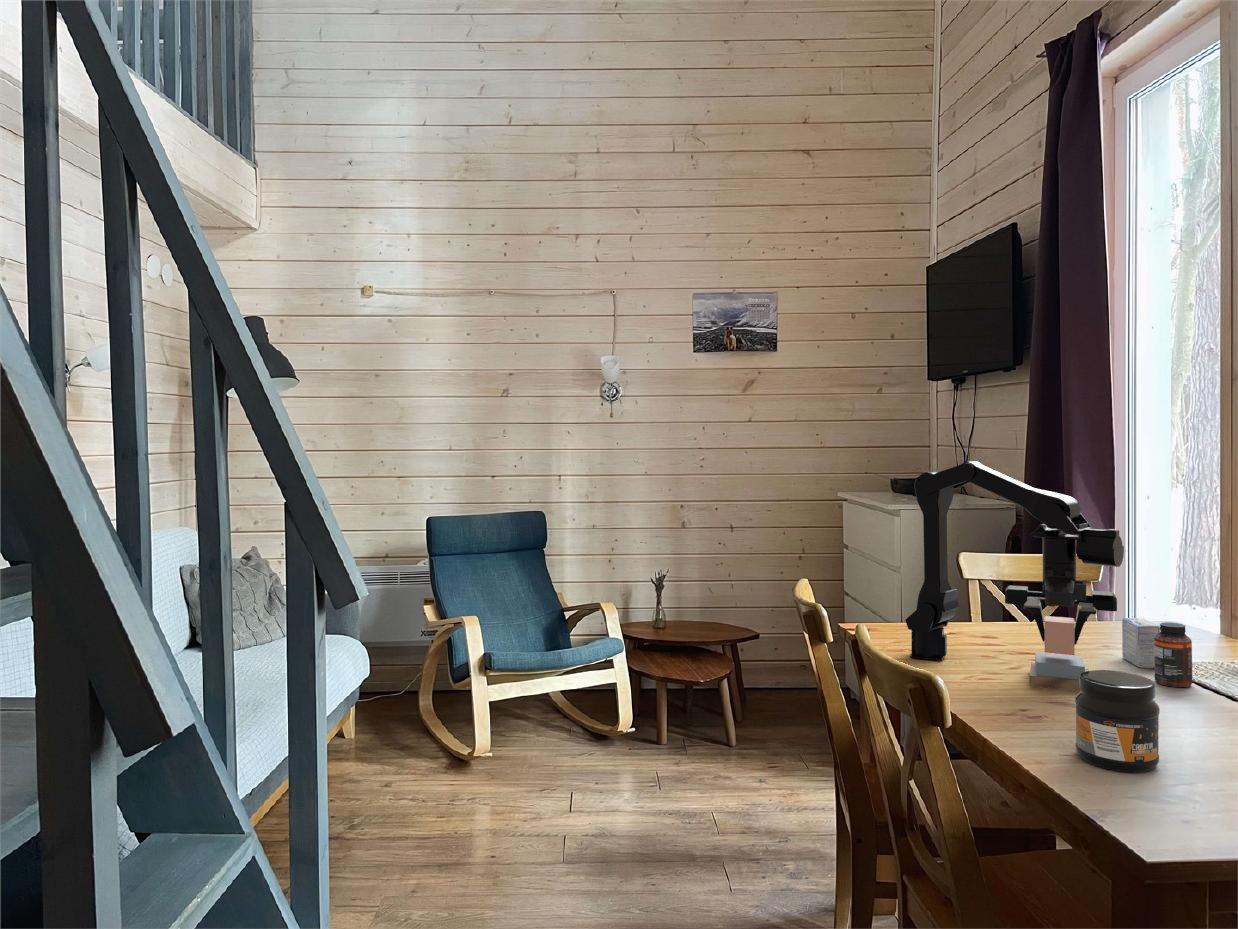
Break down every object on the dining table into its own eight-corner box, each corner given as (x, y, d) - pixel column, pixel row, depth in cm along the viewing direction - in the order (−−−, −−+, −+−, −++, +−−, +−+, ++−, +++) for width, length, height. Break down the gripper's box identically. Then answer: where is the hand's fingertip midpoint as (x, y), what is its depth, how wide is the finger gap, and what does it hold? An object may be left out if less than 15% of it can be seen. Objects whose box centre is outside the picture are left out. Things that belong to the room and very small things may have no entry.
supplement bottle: (1186, 680, 159) (1186, 621, 158) (1196, 689, 153) (1197, 628, 153) (1150, 678, 161) (1150, 620, 160) (1159, 687, 155) (1159, 626, 155)
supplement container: (1101, 776, 115) (1101, 690, 115) (1060, 747, 126) (1060, 669, 126) (1176, 774, 116) (1177, 689, 115) (1130, 746, 126) (1130, 668, 126)
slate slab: (1036, 675, 157) (1036, 662, 157) (1035, 665, 164) (1035, 652, 164) (1084, 680, 154) (1084, 666, 154) (1081, 669, 161) (1081, 656, 161)
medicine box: (1161, 669, 167) (1161, 626, 167) (1136, 668, 168) (1137, 625, 167) (1144, 658, 175) (1145, 617, 174) (1121, 658, 175) (1121, 617, 175)
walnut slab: (1029, 688, 157) (1029, 675, 157) (1031, 675, 166) (1031, 662, 166) (1090, 695, 153) (1090, 682, 153) (1088, 681, 161) (1088, 668, 161)
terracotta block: (1044, 652, 158) (1044, 621, 158) (1044, 646, 163) (1044, 616, 162) (1074, 655, 156) (1074, 623, 156) (1073, 649, 160) (1073, 618, 160)
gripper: (1003, 564, 156) (1003, 647, 156) (1119, 570, 147) (1119, 658, 148) (1006, 556, 166) (1006, 634, 166) (1115, 562, 157) (1114, 644, 158)
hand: (1059, 642), depth 159 cm, fingers closed on terracotta block, 5 cm apart
